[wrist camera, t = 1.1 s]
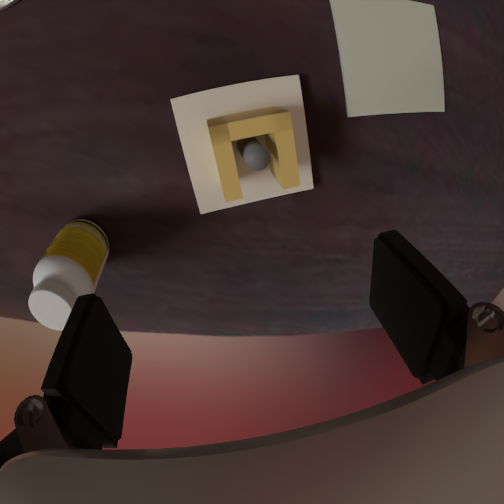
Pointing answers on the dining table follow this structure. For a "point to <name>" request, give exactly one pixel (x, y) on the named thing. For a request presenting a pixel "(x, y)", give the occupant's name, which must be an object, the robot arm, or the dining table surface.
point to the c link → (249, 125)
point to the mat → (389, 56)
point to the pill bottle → (67, 271)
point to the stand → (245, 150)
